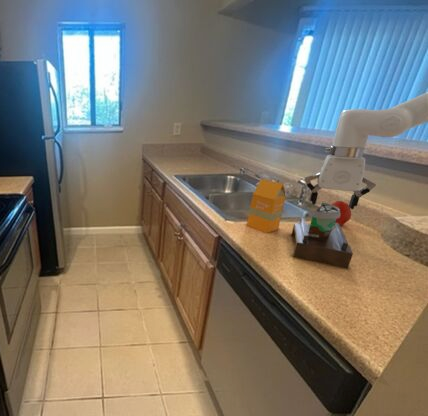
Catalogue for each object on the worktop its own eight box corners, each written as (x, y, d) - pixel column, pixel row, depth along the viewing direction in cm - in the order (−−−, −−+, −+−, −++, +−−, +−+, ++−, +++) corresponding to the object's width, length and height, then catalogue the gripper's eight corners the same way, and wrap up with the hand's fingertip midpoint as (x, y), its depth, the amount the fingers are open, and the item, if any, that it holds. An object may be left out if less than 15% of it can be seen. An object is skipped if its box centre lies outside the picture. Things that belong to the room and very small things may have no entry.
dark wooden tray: (336, 244, 99) (343, 223, 96) (346, 270, 84) (355, 246, 81) (290, 235, 106) (296, 215, 103) (292, 258, 91) (298, 235, 88)
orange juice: (257, 222, 118) (267, 177, 111) (278, 230, 111) (289, 182, 104) (246, 226, 115) (255, 180, 108) (266, 234, 108) (277, 185, 100)
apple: (352, 228, 111) (361, 203, 108) (331, 228, 112) (339, 204, 108) (336, 220, 119) (344, 197, 115) (317, 220, 119) (324, 197, 116)
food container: (328, 245, 87) (338, 216, 83) (305, 238, 91) (313, 211, 87) (336, 233, 95) (345, 206, 91) (314, 227, 99) (322, 201, 95)
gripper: (312, 152, 84) (300, 205, 90) (389, 156, 76) (370, 213, 81) (310, 149, 90) (298, 198, 96) (381, 152, 81) (364, 206, 87)
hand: (331, 205), depth 89 cm, fingers open, 9 cm apart
